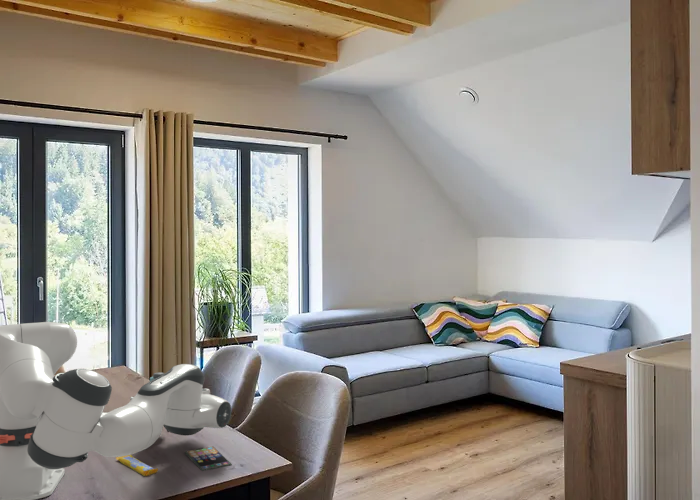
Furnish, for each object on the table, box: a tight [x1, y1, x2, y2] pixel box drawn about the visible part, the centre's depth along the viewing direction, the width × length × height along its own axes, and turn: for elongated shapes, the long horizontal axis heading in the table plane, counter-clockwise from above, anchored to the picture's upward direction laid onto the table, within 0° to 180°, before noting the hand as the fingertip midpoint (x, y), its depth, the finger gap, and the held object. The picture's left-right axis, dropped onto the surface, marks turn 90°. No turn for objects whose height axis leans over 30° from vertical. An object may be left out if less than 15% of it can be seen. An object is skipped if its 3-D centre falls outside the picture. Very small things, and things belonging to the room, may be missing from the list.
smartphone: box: [184, 446, 233, 472], centre depth 174 cm, size 8×15×1 cm, turn 31°
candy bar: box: [115, 454, 159, 477], centre depth 168 cm, size 17×4×2 cm, turn 44°
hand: (157, 398), depth 193 cm, fingers closed on bottle, 5 cm apart
